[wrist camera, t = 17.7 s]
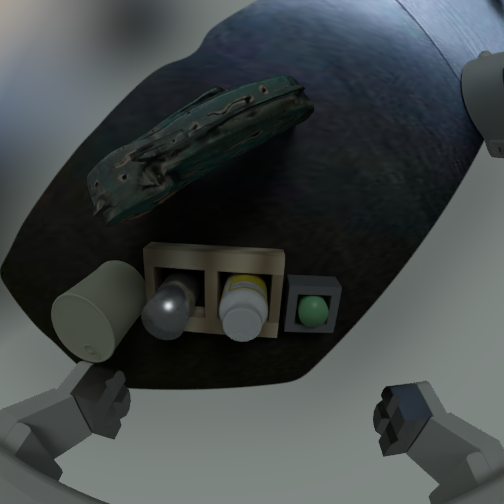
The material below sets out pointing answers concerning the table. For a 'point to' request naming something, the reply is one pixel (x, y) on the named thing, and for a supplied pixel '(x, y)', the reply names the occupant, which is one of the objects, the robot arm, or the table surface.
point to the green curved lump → (193, 145)
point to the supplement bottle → (243, 306)
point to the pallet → (216, 277)
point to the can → (99, 310)
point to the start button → (312, 310)
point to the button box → (310, 287)
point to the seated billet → (172, 304)
